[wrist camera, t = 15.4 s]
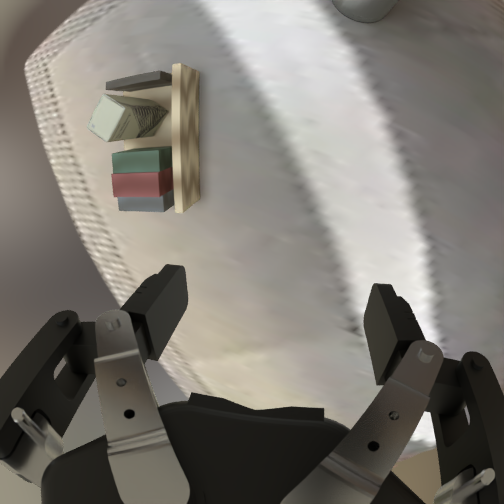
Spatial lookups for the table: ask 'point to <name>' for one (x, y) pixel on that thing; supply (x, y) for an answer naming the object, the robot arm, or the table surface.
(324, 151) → the table surface
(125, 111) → the box
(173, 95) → the shelf
